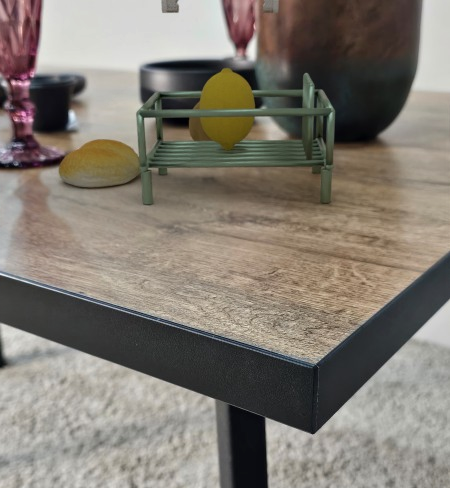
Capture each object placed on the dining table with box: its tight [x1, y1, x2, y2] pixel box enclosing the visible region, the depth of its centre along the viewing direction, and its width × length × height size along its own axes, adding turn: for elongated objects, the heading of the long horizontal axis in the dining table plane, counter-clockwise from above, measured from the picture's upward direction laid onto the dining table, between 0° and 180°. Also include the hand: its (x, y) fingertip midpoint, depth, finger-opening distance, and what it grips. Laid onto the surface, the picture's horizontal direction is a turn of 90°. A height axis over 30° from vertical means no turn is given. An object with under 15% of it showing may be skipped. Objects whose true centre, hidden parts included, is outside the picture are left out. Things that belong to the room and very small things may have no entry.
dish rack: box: [135, 72, 336, 205], centre depth 74 cm, size 18×13×11 cm
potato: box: [188, 100, 213, 141], centre depth 88 cm, size 7×8×8 cm
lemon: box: [199, 67, 256, 150], centre depth 73 cm, size 6×6×8 cm
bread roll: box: [58, 138, 141, 189], centre depth 80 cm, size 8×9×4 cm
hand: (220, 12), depth 70 cm, fingers open, 8 cm apart
